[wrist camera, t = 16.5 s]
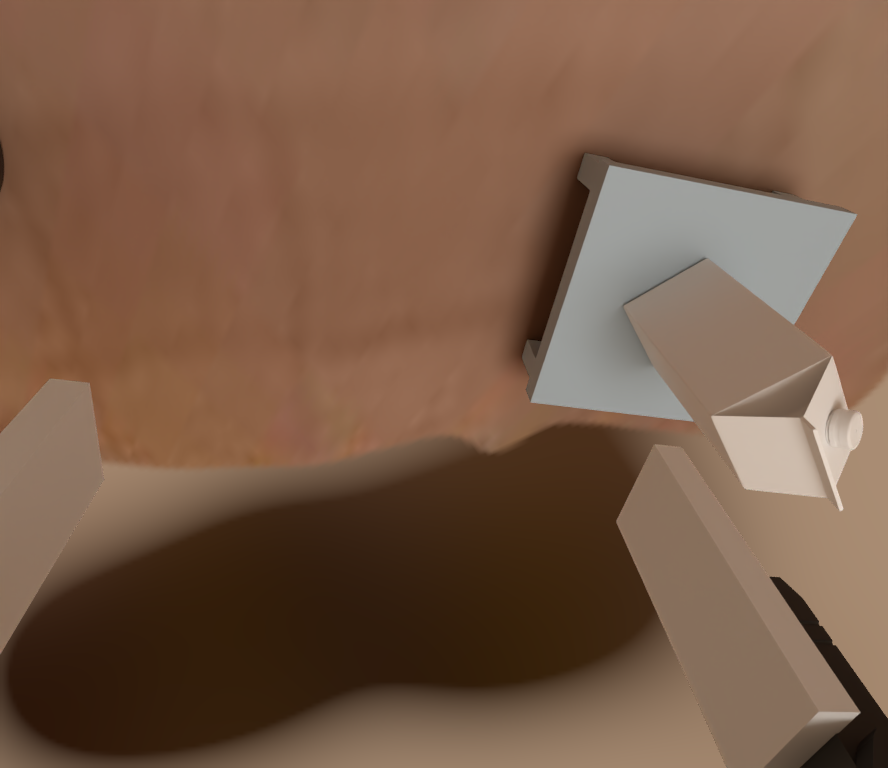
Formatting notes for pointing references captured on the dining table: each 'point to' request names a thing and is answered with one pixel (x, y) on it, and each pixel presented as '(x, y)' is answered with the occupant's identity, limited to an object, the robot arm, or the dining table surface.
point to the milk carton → (749, 382)
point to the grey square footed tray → (665, 275)
